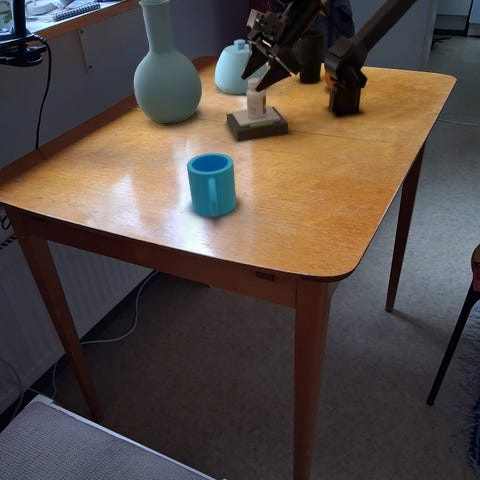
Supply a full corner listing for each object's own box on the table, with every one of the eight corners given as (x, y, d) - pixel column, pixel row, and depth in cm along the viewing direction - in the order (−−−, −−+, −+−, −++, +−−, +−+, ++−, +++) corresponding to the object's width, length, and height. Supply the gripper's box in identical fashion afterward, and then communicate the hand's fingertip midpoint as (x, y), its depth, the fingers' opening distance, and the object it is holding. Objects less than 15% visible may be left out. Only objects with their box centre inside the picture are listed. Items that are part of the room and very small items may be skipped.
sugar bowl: (236, 75, 143) (233, 31, 135) (278, 82, 136) (278, 36, 128) (205, 91, 135) (200, 44, 127) (248, 99, 128) (246, 51, 120)
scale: (274, 116, 118) (274, 103, 116) (288, 133, 111) (288, 120, 109) (226, 123, 117) (225, 111, 115) (237, 141, 109) (236, 128, 107)
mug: (192, 196, 92) (186, 155, 87) (234, 192, 92) (231, 151, 87) (192, 230, 83) (186, 187, 78) (239, 225, 84) (236, 182, 78)
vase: (148, 134, 115) (125, 12, 98) (133, 111, 126) (110, -1, 109) (213, 120, 119) (201, 1, 102) (193, 99, 130) (179, -11, 113)
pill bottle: (268, 117, 110) (268, 81, 105) (250, 120, 110) (248, 84, 104) (263, 110, 114) (262, 75, 108) (245, 113, 113) (243, 78, 108)
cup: (322, 85, 133) (324, 36, 124) (294, 84, 134) (295, 36, 126) (324, 75, 138) (326, 28, 130) (297, 75, 139) (298, 28, 131)
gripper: (254, -16, 103) (210, 49, 108) (288, -1, 90) (236, 73, 95) (287, 21, 110) (244, 81, 115) (324, 40, 97) (274, 106, 102)
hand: (249, 84), depth 107 cm, fingers open, 9 cm apart
